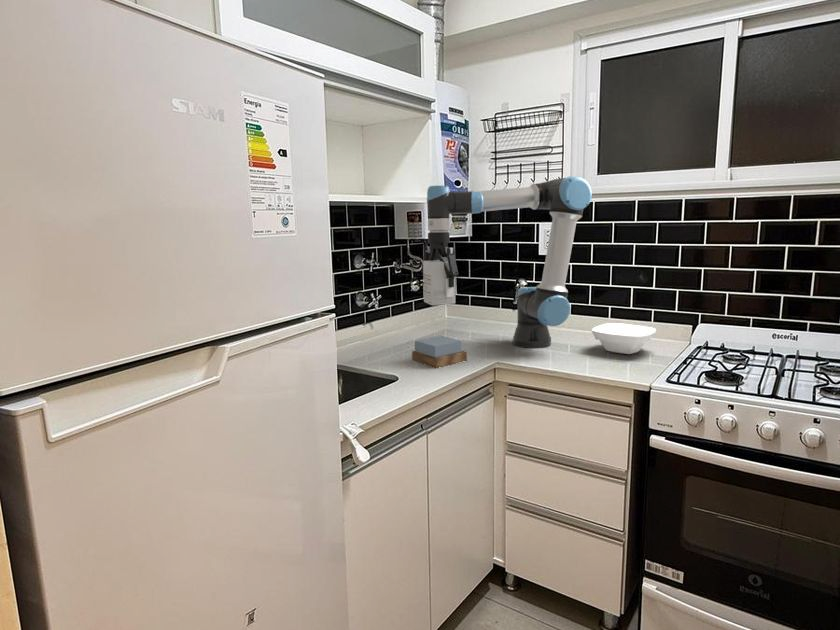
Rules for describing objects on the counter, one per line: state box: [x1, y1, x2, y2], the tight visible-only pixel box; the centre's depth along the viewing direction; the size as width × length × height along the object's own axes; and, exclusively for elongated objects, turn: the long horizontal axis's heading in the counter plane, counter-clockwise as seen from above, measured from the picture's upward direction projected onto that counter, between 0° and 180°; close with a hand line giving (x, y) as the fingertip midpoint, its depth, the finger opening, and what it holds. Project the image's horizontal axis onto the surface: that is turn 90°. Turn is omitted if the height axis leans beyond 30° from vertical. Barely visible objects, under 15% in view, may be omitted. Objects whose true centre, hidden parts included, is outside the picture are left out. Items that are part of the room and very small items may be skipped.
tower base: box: [411, 350, 468, 369], centre depth 192 cm, size 14×14×4 cm
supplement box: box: [422, 259, 456, 306], centre depth 187 cm, size 9×9×15 cm
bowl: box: [591, 322, 657, 355], centre depth 199 cm, size 21×21×9 cm
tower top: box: [414, 335, 463, 357], centre depth 192 cm, size 12×12×4 cm
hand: (439, 295), depth 188 cm, fingers closed on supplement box, 10 cm apart
